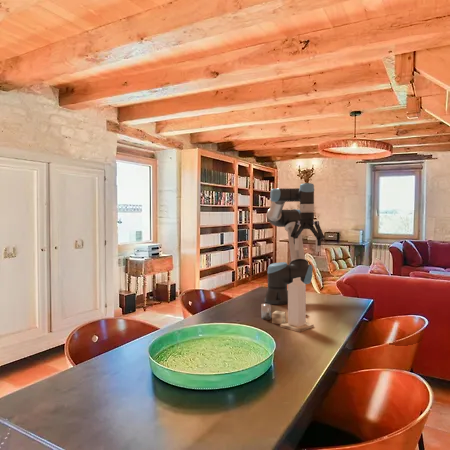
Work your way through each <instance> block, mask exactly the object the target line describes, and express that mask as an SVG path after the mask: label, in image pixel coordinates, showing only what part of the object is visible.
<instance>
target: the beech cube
mask: <svg viewBox="0 0 450 450" xmlns="http://www.w3.org/2000/svg"><path fill="white" fill-rule="evenodd" d="M286 318H287V317H286V311H281V310H275V311H273V312H271V323H272V324H276V325H280V324H283V323H286V322H287V321H286Z"/></svg>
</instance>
